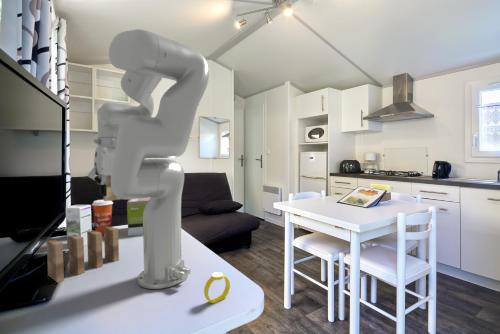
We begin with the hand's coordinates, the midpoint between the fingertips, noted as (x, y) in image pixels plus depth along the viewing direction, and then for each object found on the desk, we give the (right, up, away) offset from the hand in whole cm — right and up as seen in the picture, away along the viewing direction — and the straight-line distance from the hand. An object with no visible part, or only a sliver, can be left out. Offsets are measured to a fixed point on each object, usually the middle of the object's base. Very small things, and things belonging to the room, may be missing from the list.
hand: (112, 194), depth 88 cm
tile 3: (0, -20, -18) cm, 27 cm away
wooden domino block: (-3, -20, -22) cm, 30 cm away
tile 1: (+5, -20, -9) cm, 22 cm away
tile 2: (+2, -20, -13) cm, 24 cm away
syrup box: (-15, -19, +5) cm, 25 cm away
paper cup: (-14, -19, +18) cm, 30 cm away
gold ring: (+41, -20, -32) cm, 56 cm away
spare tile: (0, -2, 0) cm, 2 cm away
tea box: (+1, -19, +22) cm, 29 cm away
